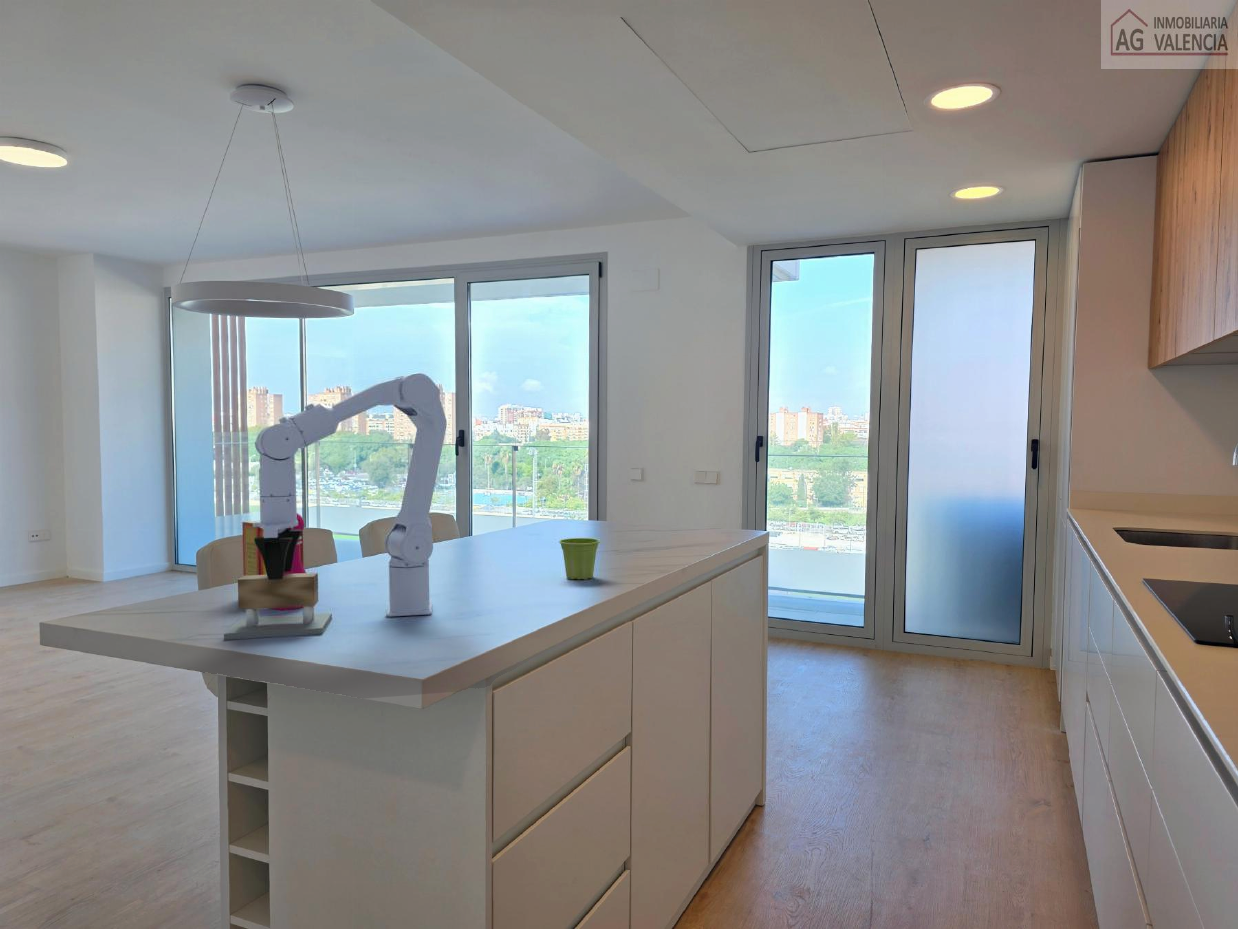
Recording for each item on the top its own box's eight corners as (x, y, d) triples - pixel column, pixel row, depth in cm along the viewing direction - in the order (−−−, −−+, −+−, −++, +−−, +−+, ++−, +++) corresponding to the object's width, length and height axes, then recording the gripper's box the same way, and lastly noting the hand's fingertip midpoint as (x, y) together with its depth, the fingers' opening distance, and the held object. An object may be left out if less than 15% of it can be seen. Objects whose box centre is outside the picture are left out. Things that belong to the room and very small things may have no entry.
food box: (259, 602, 159) (257, 522, 158) (244, 598, 163) (242, 520, 162) (304, 594, 166) (302, 518, 166) (288, 591, 170) (286, 516, 170)
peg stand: (242, 623, 140) (241, 600, 140) (331, 618, 143) (331, 596, 143) (224, 639, 128) (223, 615, 128) (322, 634, 132) (321, 610, 131)
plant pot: (608, 578, 182) (607, 540, 182) (572, 583, 177) (572, 544, 177) (586, 573, 190) (586, 537, 190) (552, 577, 185) (551, 540, 184)
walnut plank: (318, 601, 139) (317, 572, 139) (314, 605, 135) (314, 576, 135) (244, 604, 136) (243, 575, 136) (238, 609, 132) (237, 579, 132)
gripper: (262, 493, 141) (264, 569, 142) (242, 499, 127) (244, 584, 128) (304, 492, 143) (306, 567, 143) (289, 498, 129) (291, 581, 129)
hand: (280, 575), depth 136 cm, fingers open, 7 cm apart
